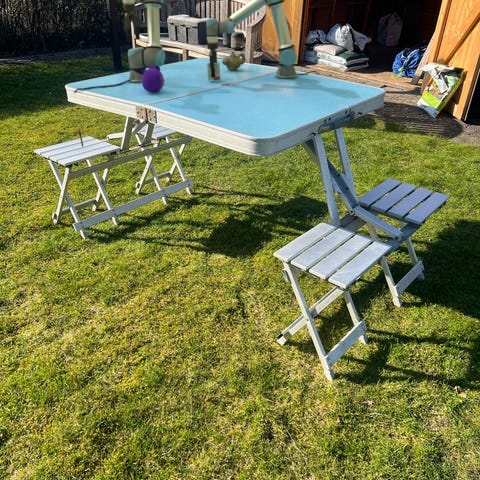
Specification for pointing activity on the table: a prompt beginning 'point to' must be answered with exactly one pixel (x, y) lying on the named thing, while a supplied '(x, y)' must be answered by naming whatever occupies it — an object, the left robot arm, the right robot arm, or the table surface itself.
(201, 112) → the table surface
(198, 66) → the table surface
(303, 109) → the table surface
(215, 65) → the ink box
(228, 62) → the teapot
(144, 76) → the toy
